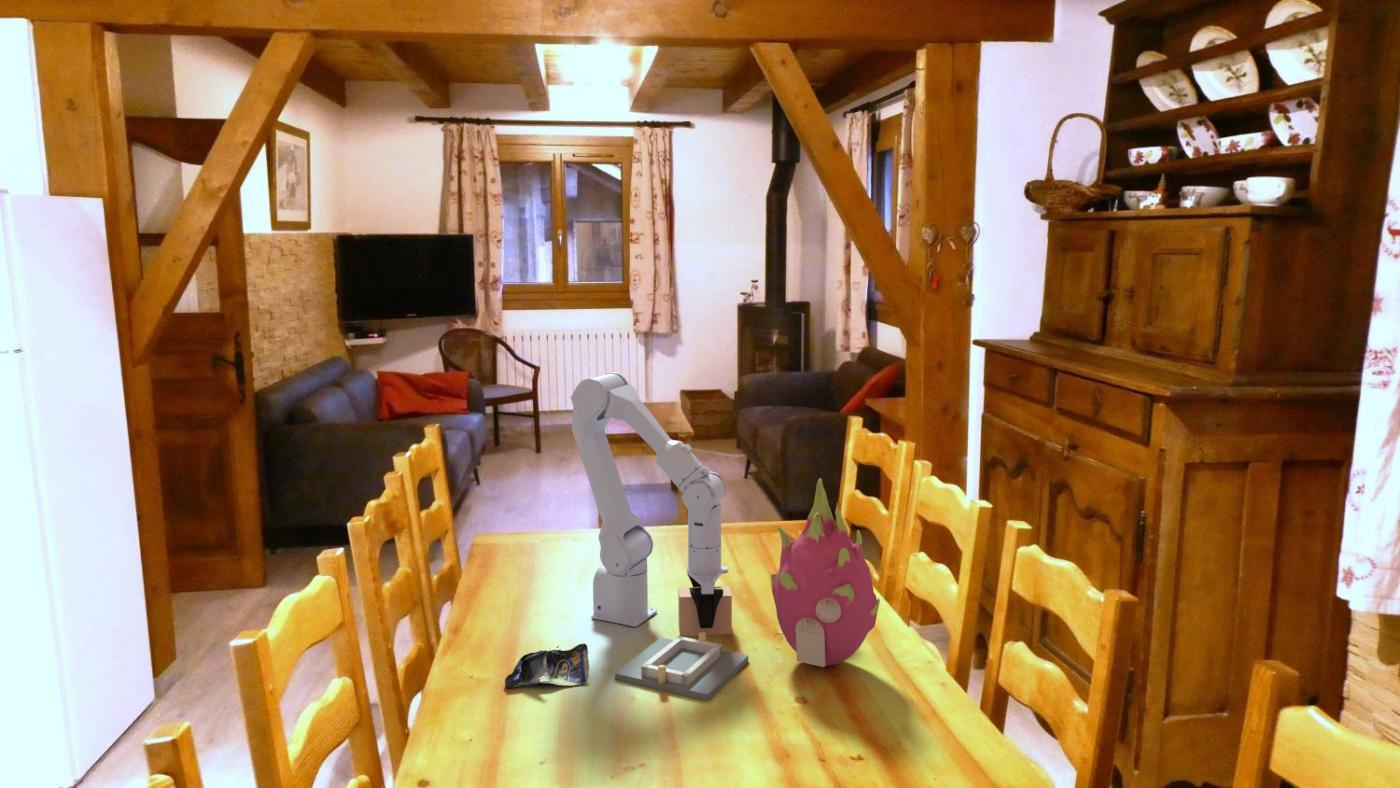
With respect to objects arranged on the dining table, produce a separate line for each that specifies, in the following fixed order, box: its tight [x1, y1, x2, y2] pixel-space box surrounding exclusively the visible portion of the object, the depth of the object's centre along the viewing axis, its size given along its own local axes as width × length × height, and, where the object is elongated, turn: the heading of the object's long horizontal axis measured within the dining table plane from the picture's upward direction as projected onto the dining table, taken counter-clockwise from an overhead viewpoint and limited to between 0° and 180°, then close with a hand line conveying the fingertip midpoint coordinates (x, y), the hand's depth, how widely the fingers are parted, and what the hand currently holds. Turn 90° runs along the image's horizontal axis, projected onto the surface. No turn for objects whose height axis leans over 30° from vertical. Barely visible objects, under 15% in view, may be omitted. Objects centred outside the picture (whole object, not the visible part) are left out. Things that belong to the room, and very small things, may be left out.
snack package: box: [504, 643, 590, 689], centre depth 149 cm, size 12×7×12 cm
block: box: [677, 585, 733, 636], centre depth 168 cm, size 9×4×7 cm, turn 94°
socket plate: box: [614, 632, 749, 702], centre depth 152 cm, size 16×15×4 cm
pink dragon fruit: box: [770, 477, 881, 668], centre depth 152 cm, size 18×14×30 cm
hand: (704, 618), depth 168 cm, fingers open, 7 cm apart
